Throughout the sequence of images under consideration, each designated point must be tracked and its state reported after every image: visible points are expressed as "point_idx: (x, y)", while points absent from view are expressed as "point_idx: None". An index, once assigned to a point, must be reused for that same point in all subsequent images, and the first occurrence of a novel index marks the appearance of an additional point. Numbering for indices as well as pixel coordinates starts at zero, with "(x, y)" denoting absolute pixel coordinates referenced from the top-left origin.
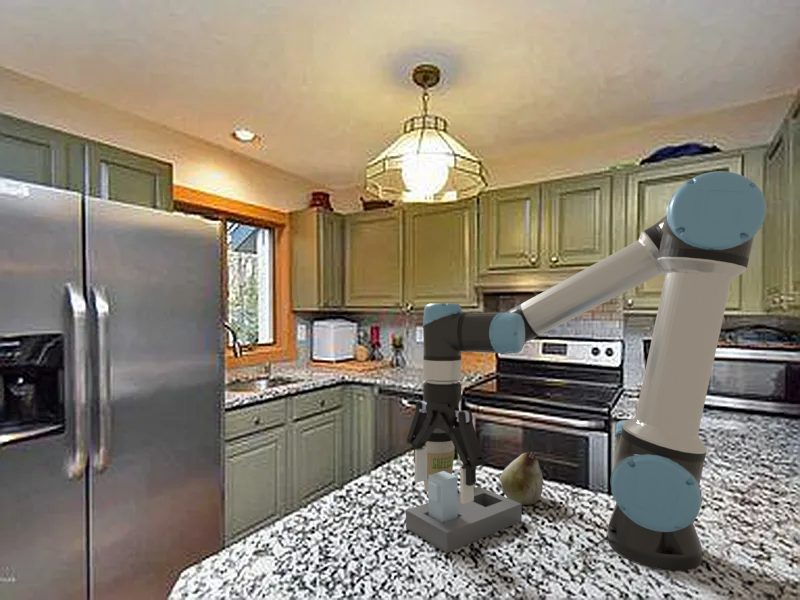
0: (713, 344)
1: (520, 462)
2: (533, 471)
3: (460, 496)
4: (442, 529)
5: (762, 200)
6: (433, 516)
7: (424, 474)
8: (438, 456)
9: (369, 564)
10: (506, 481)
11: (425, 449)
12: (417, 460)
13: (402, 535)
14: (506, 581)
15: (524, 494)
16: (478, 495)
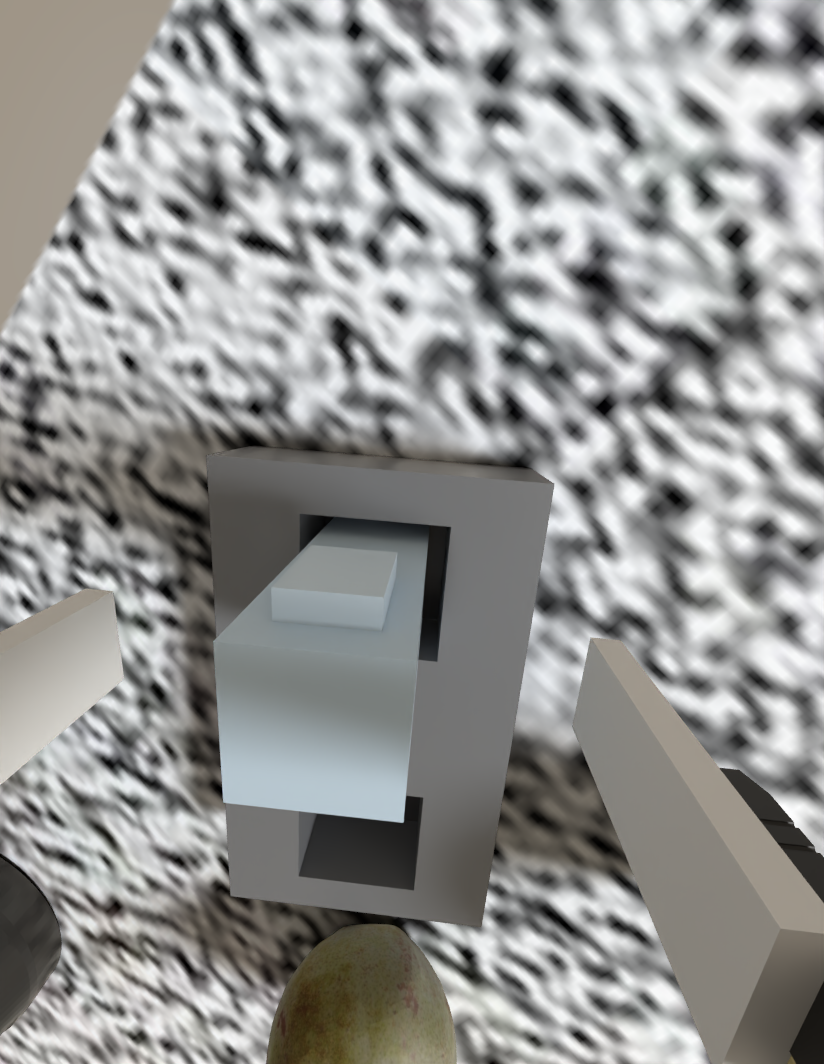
0: None
1: None
2: None
3: (77, 609)
4: (248, 467)
5: None
6: (388, 541)
7: (593, 738)
8: (790, 1058)
9: (412, 97)
10: (378, 1016)
11: (717, 1038)
12: (684, 787)
13: (508, 423)
14: (11, 477)
15: (301, 971)
16: (417, 858)
